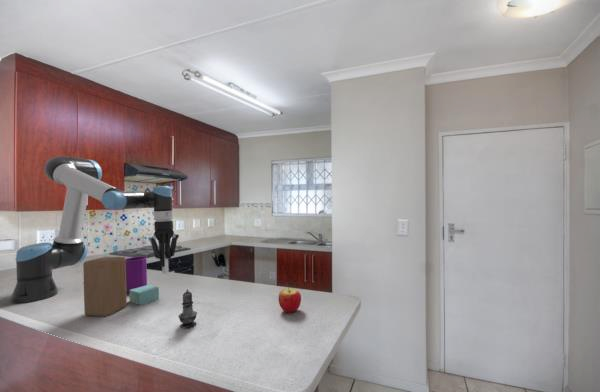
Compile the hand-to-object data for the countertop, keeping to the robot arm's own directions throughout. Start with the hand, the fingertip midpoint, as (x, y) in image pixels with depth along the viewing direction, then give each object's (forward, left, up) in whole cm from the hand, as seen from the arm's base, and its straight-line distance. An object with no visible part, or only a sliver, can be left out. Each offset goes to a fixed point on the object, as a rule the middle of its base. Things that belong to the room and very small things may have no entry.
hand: (165, 273), depth 127 cm
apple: (+59, +16, -9) cm, 62 cm away
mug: (-20, -6, -9) cm, 23 cm away
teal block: (0, -9, -10) cm, 13 cm away
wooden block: (0, -23, -9) cm, 25 cm away
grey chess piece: (+38, -12, -9) cm, 41 cm away
